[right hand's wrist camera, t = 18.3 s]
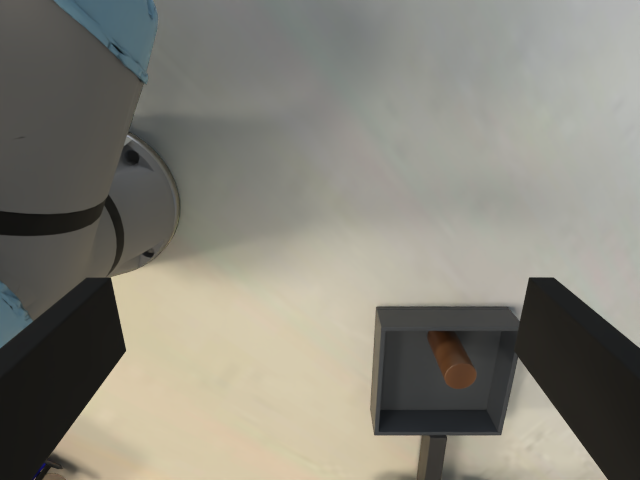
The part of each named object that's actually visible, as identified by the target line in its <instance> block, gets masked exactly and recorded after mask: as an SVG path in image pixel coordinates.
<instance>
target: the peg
mask: <svg viewBox="0 0 640 480" xmlns="http://www.w3.org/2000/svg"><path fill="white" fill-rule="evenodd" d="M427 339H428V342H429V344H430V347H431V349H432V351H433V354H434V356H435V359H436V361H437V363H438V366H439V368H440V370H441V373H442V375H443V378H444V380H445V382H446V384H447V385H448V386H450V387H451V388H454V389H463V388H466V387H468V386H470V385H471V384H473V382H474V381H475V379H476V376H477V372H476V370H475V368H474V366H473V364H472V362H471V360H470V358H469V357H468V355H467V353H466V351H465V349H464V347H463V346H462V344H461V342H460V340H459V338H458V337H457V335H456V333H455V331H429V332H428V334H427Z"/></svg>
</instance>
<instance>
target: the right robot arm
mask: <svg viewBox="0 0 640 480" xmlns="http://www.w3.org/2000/svg"><path fill="white" fill-rule="evenodd" d="M157 27H158V14H157V10H156V6H155V4H154V2H153V0H0V480H32V479H33V477H34V476H35V475H36V473H37V472H38V471H39V469H40V468H41V467H42V465H43V464H44V462H45V461H46V460H47V458H48V457H49V456H50V454H51V453H52V451H53V450H54V449H55V447H56V446H57V445H58V443H59V442H60V441H61V439H62V438H63V436H64V435H65V434H66V432H67V431H68V430H69V428H70V427H71V426H72V424H73V423H74V421H75V420H76V419H77V417H78V416H79V415H80V413H81V412H82V410H83V409H84V408H85V406H86V405H87V404H88V402H89V401H90V400H91V398H92V397H93V395H94V394H95V393H96V391H97V390H98V389H99V387H100V386H101V384H102V383H103V382H104V380H105V379H106V378H107V376H108V375H109V374H110V372H111V371H112V369H113V368H114V367H115V365H116V364H117V363H118V361H119V360H120V358H121V357H122V356H123V354H124V353H125V352H126V348H125V343H124V338H123V333H122V329H121V324H120V319H119V314H118V309H117V305H116V300H115V295H114V290H113V286H112V281H111V278H109V277H112V276H116V275H120V274H123V273H127V272H130V271H133V270H136V269H138V268H140V267H142V266H144V265H145V264H147V263H149V262H150V261H152V260H153V259H154V258H156V257H157V256H158V255H159V254H160V253H161V252H162V251H163V250H164V249H165V247H166V246H167V245H168V244H169V242H170V241H171V239H172V237H173V235H174V233H175V231H176V228H177V225H178V221H179V214H180V204H179V196H178V191H177V188H176V184H175V182H174V179H173V177H172V175H171V173H170V171H169V169H168V168H167V166H166V164H165V163H164V162H163V160H162V159H161V158H160V157H159V155H158V154H157V153H156V152H155V151H154V150H153V149H152V148H151V147H150V146H149V145H148V144H146V143H145V142H144V141H143V140H141V139H140V138H138V137H137V136H135V135H133V134H132V133H130V132H128V131H129V128H130V125H131V122H132V119H133V115H134V112H135V109H136V106H137V103H138V100H139V97H140V94H141V91H142V87H143V84H147V82H148V74H147V72H146V71H147V67H148V63H149V59H150V55H151V51H152V47H153V43H154V40H155V36H156V32H157ZM514 352H515V353H516V354H517V356H518V357H519V358H520V360H521V361H522V363H523V364H524V365H525V367H526V368H527V369H528V371H529V372H530V374H531V375H532V376H533V378H534V379H535V380H536V382H537V383H538V384H539V386H540V387H541V389H542V390H543V391H544V393H545V394H546V395H547V397H548V398H549V400H550V401H551V402H552V404H553V405H554V406H555V408H556V409H557V410H558V412H559V413H560V415H561V416H562V417H563V419H564V420H565V421H566V423H567V424H568V426H569V427H570V428H571V430H572V431H573V432H574V434H575V435H576V436H577V438H578V439H579V441H580V442H581V443H582V445H583V446H584V447H585V449H586V450H587V451H588V453H589V454H590V456H591V457H592V458H593V460H594V461H595V462H596V464H597V465H598V467H599V468H600V469H601V471H602V472H603V473H604V475H605V476H606V477H607V479H608V480H640V348H639V347H638V346H636V345H635V344H634V343H633V342H631V341H630V340H629V339H628V338H627V337H625V336H624V335H623V334H622V333H621V332H619V331H618V330H617V329H616V328H614V327H613V326H612V325H611V324H610V323H608V322H607V321H606V320H605V319H603V318H602V317H601V316H600V315H599V314H597V313H596V312H595V311H594V310H593V309H591V308H590V307H589V306H588V305H586V304H585V303H584V302H583V301H582V300H580V299H579V298H578V297H577V296H575V295H574V294H573V293H572V292H571V291H569V290H568V289H567V288H566V287H565V286H563V285H562V284H561V283H560V282H558V281H557V280H556V279H555V278H529V281H528V286H527V290H526V295H525V300H524V305H523V309H522V314H521V319H520V324H519V329H518V333H517V338H516V343H515V348H514Z"/></svg>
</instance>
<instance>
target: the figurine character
mask: <svg viewBox="0 0 640 480" xmlns="http://www.w3.org/2000/svg"><path fill="white" fill-rule="evenodd" d="M45 465H46V466H45ZM44 466H45V468H44ZM51 467H54V468H56V469H63V468H62V467H61V465H59V464H56V463H53V462H51V461H48V460H46V461H45V462H44V464H43V465H42V467H41V468H40V469H39V471H38V472H37V473H36V475H35V476H34V477H33V479H32V480H34V479H35V478H36V479H35V480H65V478H64V477H62V476H61V475H59V474H55V473H51V474H46V473H47V472H48V471H49V469H50V468H51ZM43 468H44V469H43ZM42 469H43V470H42ZM41 470H42V471H41ZM40 471H41V472H40Z"/></svg>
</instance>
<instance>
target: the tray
mask: <svg viewBox="0 0 640 480" xmlns="http://www.w3.org/2000/svg"><path fill="white" fill-rule="evenodd" d="M519 324H520V321H519V320H518V319H517V318H516V316H515V315H514V314H513V313H512V312H511V310H509V308H508V307H376V319H375V336H374V354H373V371H372V388H371V406H370V411H371V417H372V424H373V430H374V435H422V440H421V449H420V457H419V465H418V473H417V480H441V474H442V468H443V461H444V455H445V448H446V441H447V437H446V435H501V434H502V429H503V424H504V420H505V415H506V410H507V406H508V401H509V397H510V392H511V387H512V383H513V378H514V373H515V369H516V364H517V360H518V356H517V354H516V353H515V352H514V348H515V343H516V338H517V333H518V329H519ZM429 331H455V333H456V335H457V337H458V338H459V340H460V342H461V344H462V346H463V347H464V349H465V351H466V353H467V355H468V357H469V358H470V360H471V362H472V364H473V366H474V368H475V370H476V372H477V376H476V379H475V381H474V382H473V384H471V385H470V386H468V387H466V388H463V389H454V388H451V387H450V386H448V385H447V384H446V382H445V380H444V378H443V375H442V373H441V370H440V368H439V366H438V363H437V361H436V359H435V356H434V354H433V351H432V349H431V347H430V344H429V342H428V339H427V334H428V332H429Z"/></svg>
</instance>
